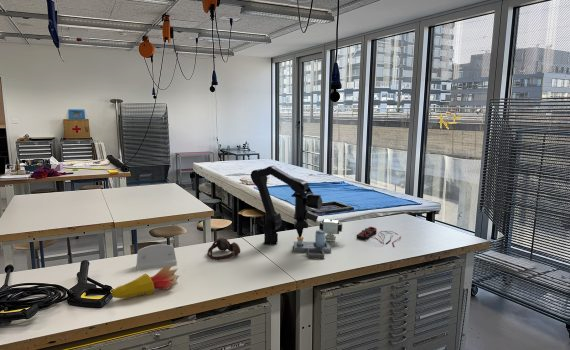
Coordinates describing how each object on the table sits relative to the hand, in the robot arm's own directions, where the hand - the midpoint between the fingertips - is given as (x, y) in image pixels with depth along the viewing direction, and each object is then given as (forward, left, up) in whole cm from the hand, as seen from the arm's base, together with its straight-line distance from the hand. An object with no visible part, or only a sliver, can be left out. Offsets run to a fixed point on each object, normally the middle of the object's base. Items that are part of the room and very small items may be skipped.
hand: (300, 236), depth 190 cm
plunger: (0, 0, -4) cm, 4 cm away
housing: (+6, 0, -6) cm, 9 cm away
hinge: (-64, -23, -6) cm, 68 cm away
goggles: (-37, -11, -6) cm, 39 cm away
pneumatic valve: (+17, +13, -6) cm, 23 cm away
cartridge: (+10, 0, -6) cm, 12 cm away
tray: (+7, -10, -6) cm, 13 cm away
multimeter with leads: (+45, +19, -7) cm, 50 cm away
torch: (-58, -50, -6) cm, 77 cm away
